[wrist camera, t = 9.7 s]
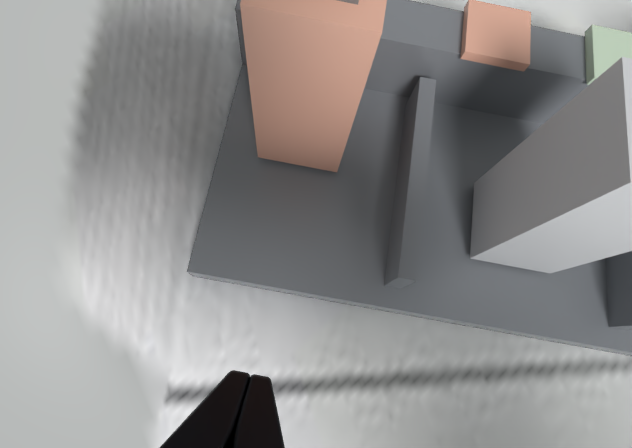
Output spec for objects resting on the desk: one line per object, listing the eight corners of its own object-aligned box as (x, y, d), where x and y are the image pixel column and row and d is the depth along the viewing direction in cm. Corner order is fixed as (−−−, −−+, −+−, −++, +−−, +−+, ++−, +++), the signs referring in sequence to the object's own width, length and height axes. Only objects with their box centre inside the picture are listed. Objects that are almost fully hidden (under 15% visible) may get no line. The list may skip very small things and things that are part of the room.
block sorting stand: (779, 382, 21) (947, 394, 16) (192, 275, 20) (160, 249, 15) (739, 136, 25) (861, 80, 20) (254, 39, 24) (247, -47, 19)
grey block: (550, 273, 20) (789, 207, 11) (469, 258, 20) (640, 177, 10) (549, 197, 21) (764, 77, 12) (474, 182, 21) (630, 49, 12)
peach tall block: (337, 172, 20) (384, 25, 11) (257, 157, 20) (238, -5, 11) (348, 104, 22) (400, -82, 12) (273, 89, 22) (268, -109, 12)
